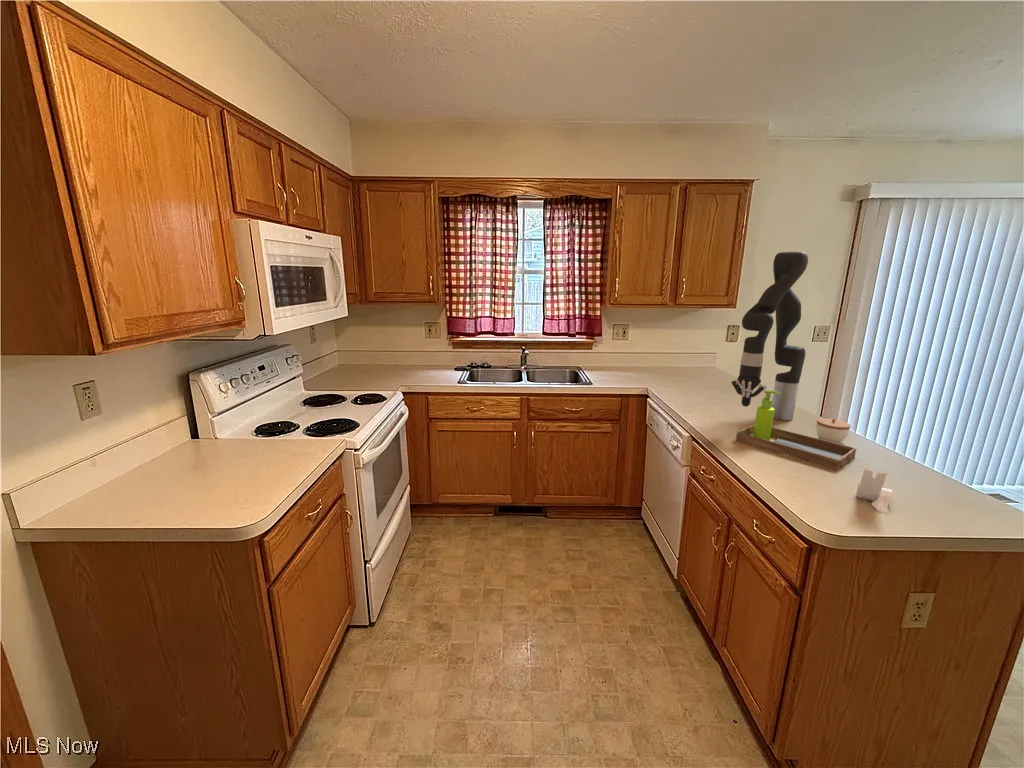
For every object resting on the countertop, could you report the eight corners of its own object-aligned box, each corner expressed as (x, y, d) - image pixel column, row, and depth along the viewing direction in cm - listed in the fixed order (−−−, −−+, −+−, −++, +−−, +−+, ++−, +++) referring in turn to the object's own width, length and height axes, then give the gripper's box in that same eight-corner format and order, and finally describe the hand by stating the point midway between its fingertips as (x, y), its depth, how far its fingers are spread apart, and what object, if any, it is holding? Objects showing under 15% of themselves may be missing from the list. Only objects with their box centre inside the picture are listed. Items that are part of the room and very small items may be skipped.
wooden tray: (755, 431, 183) (756, 423, 183) (854, 457, 158) (856, 448, 157) (735, 440, 172) (736, 432, 172) (838, 470, 147) (840, 460, 146)
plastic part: (888, 501, 127) (897, 463, 124) (890, 515, 119) (900, 475, 117) (856, 493, 131) (864, 457, 129) (856, 506, 124) (864, 468, 121)
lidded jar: (839, 438, 177) (844, 415, 175) (851, 447, 167) (856, 424, 165) (809, 435, 180) (813, 413, 178) (819, 444, 170) (823, 421, 168)
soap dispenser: (774, 443, 170) (782, 393, 165) (754, 441, 172) (761, 391, 168) (770, 438, 176) (778, 389, 171) (751, 436, 178) (758, 388, 173)
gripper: (773, 365, 171) (766, 408, 175) (738, 360, 181) (733, 400, 185) (765, 367, 166) (758, 411, 170) (730, 362, 176) (724, 403, 180)
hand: (745, 405), depth 177 cm, fingers closed
